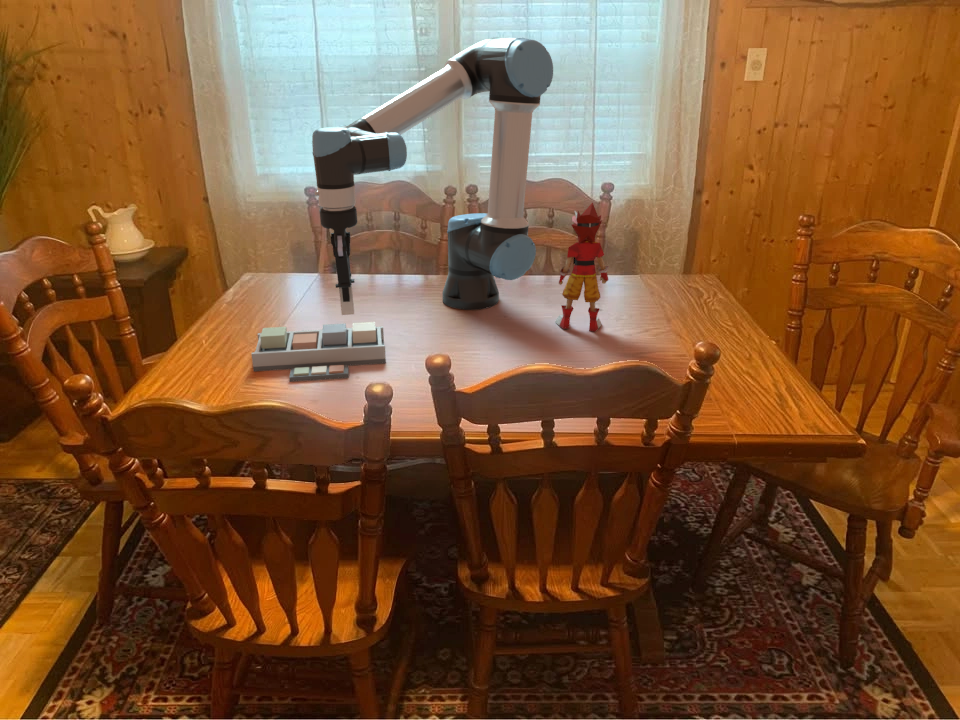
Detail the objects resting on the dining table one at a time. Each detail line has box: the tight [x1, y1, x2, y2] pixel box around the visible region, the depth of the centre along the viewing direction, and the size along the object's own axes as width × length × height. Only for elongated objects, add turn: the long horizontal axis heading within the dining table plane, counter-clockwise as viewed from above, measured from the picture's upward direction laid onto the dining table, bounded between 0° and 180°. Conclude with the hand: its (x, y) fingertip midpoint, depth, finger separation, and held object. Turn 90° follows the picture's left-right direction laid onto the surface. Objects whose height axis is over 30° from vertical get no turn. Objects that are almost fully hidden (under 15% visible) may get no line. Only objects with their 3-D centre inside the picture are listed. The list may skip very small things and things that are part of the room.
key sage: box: [260, 326, 288, 349], centre depth 160 cm, size 5×5×3 cm
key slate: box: [321, 322, 347, 345], centre depth 162 cm, size 5×5×3 cm
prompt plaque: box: [288, 365, 350, 383], centre depth 155 cm, size 12×4×1 cm, turn 99°
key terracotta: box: [292, 333, 318, 350], centre depth 162 cm, size 5×5×3 cm
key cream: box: [351, 321, 376, 343], centre depth 163 cm, size 5×5×3 cm
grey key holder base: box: [250, 325, 387, 372], centre depth 163 cm, size 28×12×4 cm, turn 99°
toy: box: [554, 202, 610, 333], centre depth 174 cm, size 12×9×30 cm
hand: (348, 313), depth 161 cm, fingers closed
